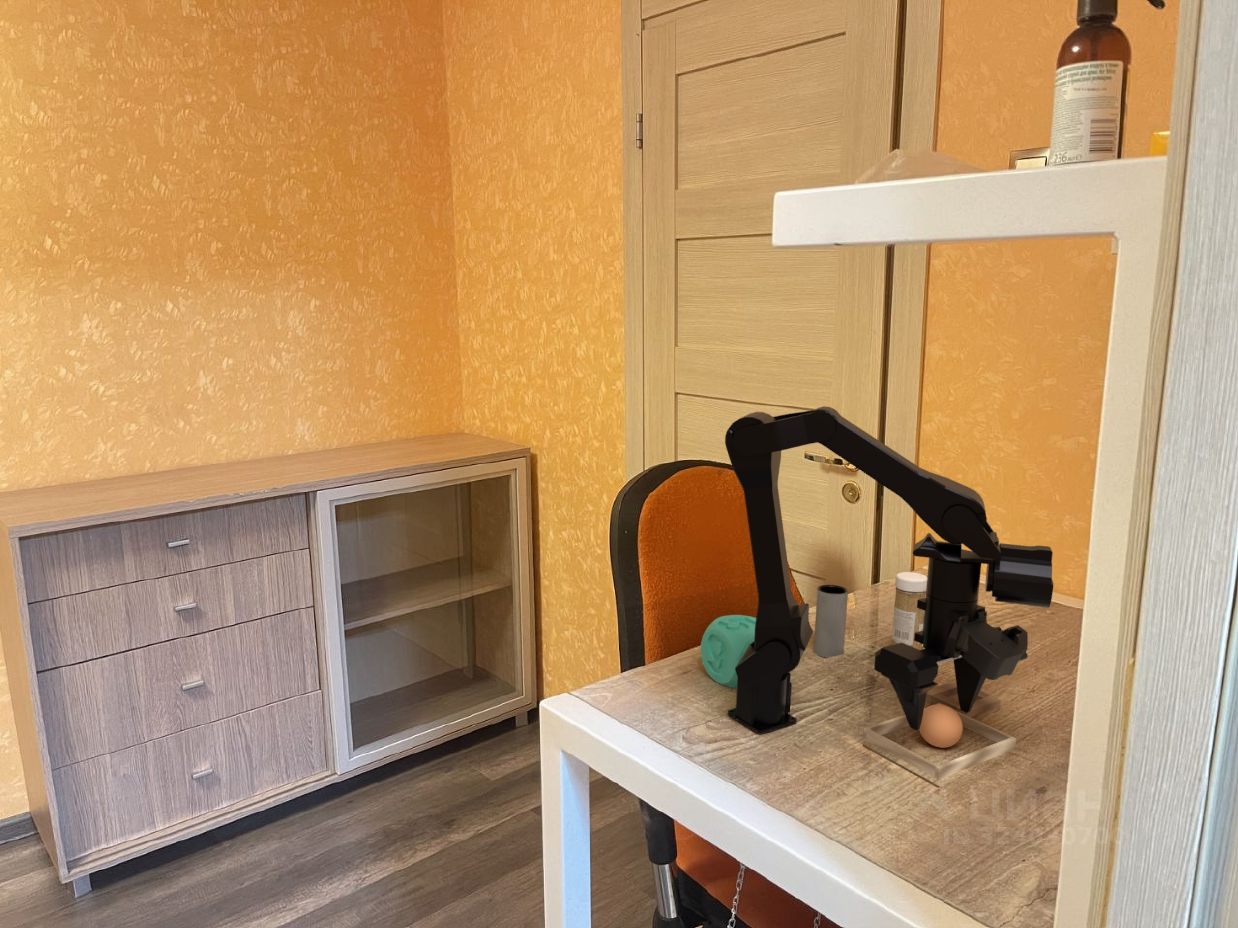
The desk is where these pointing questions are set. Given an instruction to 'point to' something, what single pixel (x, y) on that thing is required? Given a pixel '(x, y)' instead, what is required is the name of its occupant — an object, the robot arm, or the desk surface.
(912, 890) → the desk surface
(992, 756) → the tray
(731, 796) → the desk surface
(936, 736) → the ball
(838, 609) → the grey hollow cylinder
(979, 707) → the brown flat square frame
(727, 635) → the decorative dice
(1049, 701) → the desk surface
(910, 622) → the sprinkles bottle
